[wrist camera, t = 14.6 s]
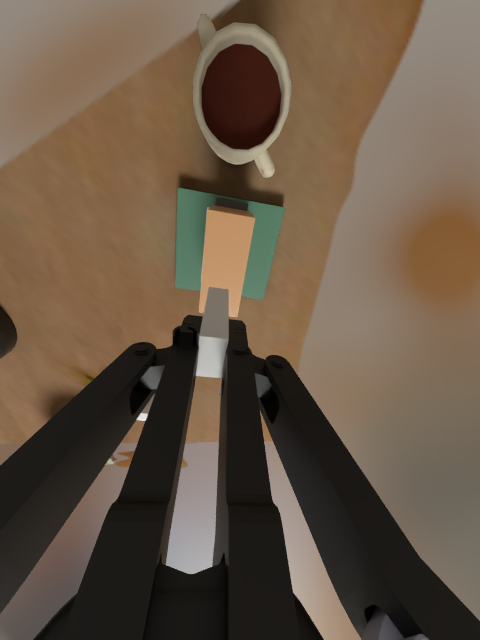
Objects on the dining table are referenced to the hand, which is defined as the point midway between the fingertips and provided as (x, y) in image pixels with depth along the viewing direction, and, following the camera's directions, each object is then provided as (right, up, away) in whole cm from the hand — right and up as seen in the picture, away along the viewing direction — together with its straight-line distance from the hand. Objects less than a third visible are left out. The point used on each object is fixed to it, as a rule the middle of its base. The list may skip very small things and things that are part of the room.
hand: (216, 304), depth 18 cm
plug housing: (0, +7, +15) cm, 16 cm away
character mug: (+2, +21, +10) cm, 23 cm away
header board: (0, +9, +16) cm, 19 cm away
